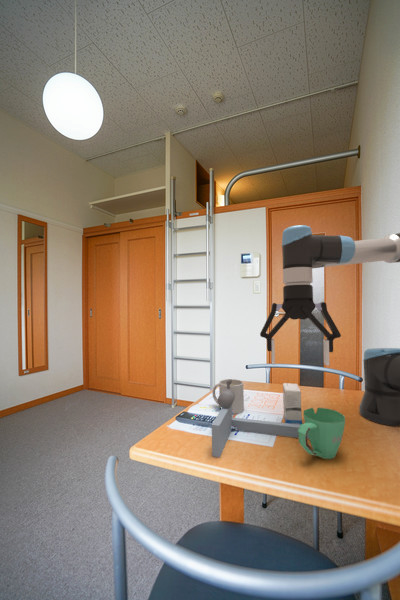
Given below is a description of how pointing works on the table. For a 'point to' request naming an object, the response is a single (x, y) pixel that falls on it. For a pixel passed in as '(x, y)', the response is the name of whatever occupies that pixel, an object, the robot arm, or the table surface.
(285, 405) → the ink box
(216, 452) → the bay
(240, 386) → the mug
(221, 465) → the table surface
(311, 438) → the mug
